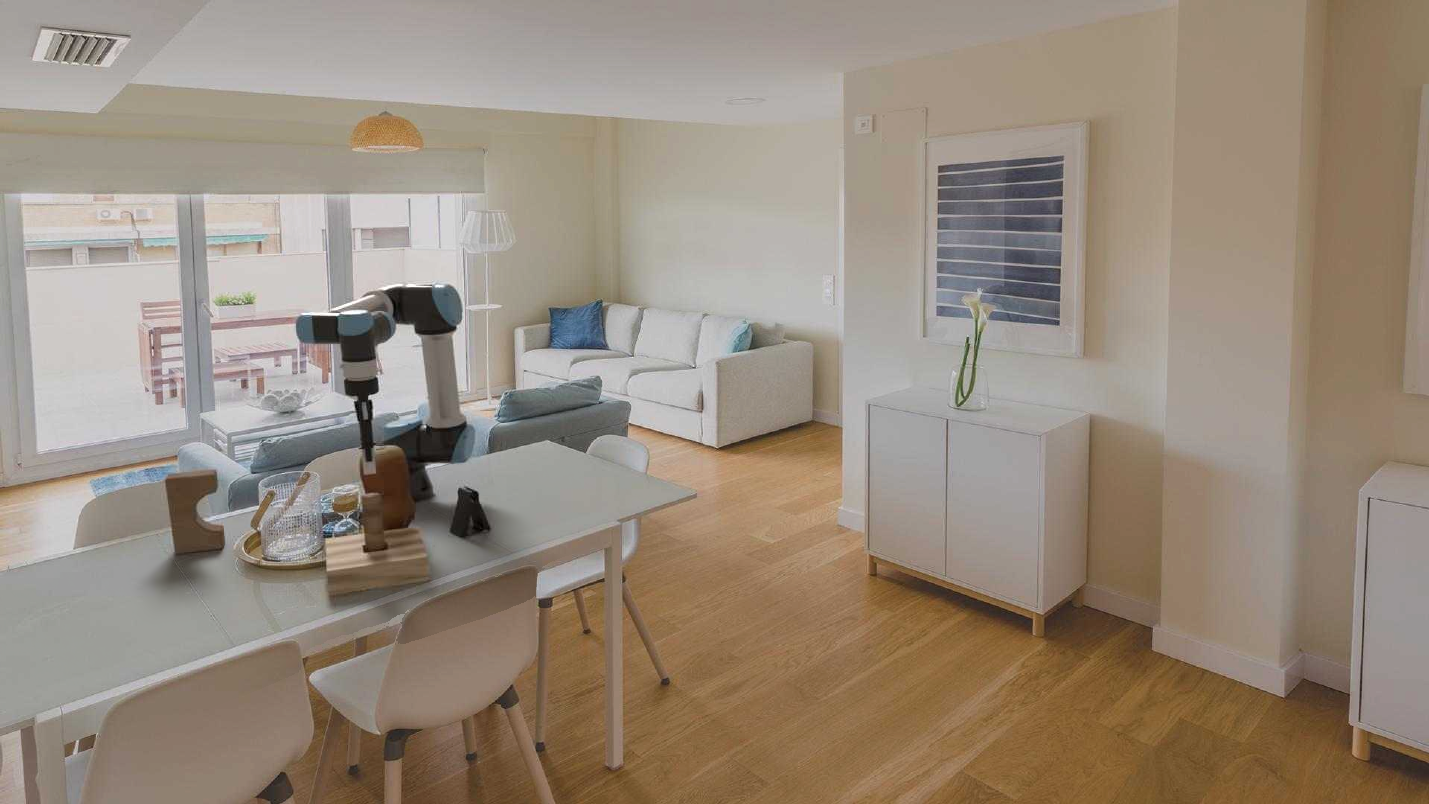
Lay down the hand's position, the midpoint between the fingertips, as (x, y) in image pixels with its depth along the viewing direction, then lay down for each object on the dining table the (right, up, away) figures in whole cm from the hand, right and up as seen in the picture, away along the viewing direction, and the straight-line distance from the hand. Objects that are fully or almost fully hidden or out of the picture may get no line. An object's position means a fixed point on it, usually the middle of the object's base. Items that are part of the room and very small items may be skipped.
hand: (370, 473), depth 224 cm
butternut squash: (-3, -19, +24) cm, 31 cm away
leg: (+1, -23, +2) cm, 23 cm away
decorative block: (-50, -21, +17) cm, 56 cm away
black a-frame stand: (+17, -18, +29) cm, 38 cm away
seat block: (+1, -24, +2) cm, 24 cm away
